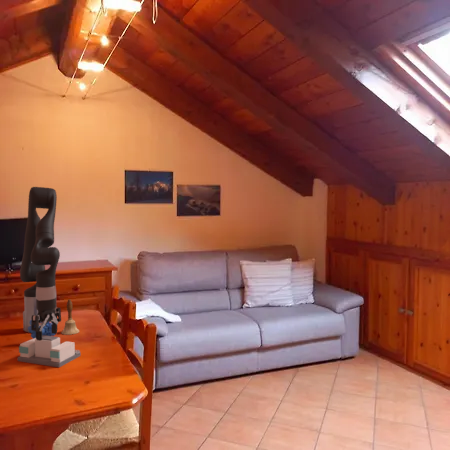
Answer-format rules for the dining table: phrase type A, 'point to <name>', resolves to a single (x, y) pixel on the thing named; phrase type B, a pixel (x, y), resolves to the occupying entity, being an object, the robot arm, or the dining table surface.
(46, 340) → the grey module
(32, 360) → the rail board
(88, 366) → the dining table surface
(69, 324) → the hand bell
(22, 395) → the dining table surface
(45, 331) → the grapes
